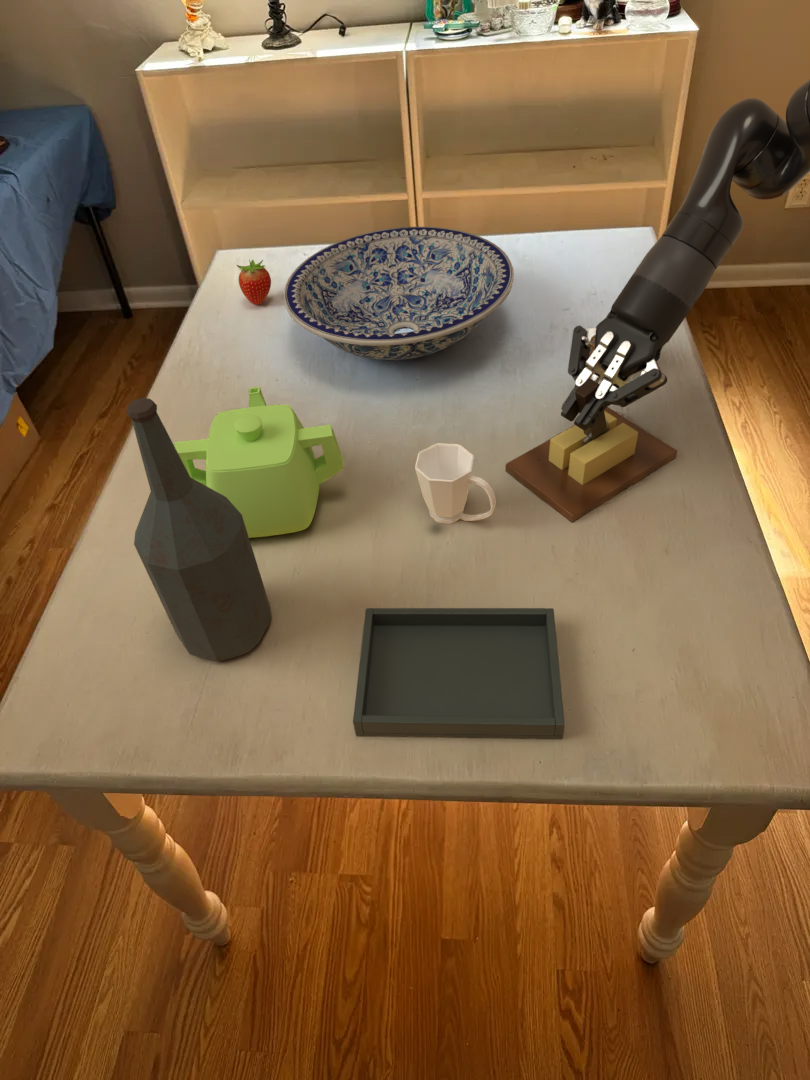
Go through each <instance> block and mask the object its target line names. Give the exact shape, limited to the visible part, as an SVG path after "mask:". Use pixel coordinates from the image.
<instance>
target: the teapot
mask: <svg viewBox="0 0 810 1080" xmlns="http://www.w3.org/2000/svg"><path fill="white" fill-rule="evenodd" d="M173 445H174V447H175V448H176V450H177V452H178V454H179V456H180V458H181V460H182V462H183V464H184V466H185V468H186V470H187V472H188V474H189V476H190V477H191V478H193V479H194V480H196V481H198V482H200V483H202V484H203V485H205V486H207V487H209V488H211V489H212V490H214V491H216V492H218V493H220V494H221V495H223V496H225V497H227V499H228V500H229V501H230V502H231V503H232V504H233V505H234V506H235V508H236V509H237V510H238V511H239V512H240V513H241V514H242V517H243V521H244V524H245V527H246V530H247V533H248V537H249V539H251V538H263V537H272V536H280V535H285V534H286V535H287V534H292V533H297V532H302V531H304V530H306V529H308V528H309V527H310V525H311V523H312V521H313V519H314V515H315V512H316V508H317V503H318V499H319V493H320V485H322V484H323V483H324V482H326V481H327V480H329V479H331V478H332V477H334V476H335V475H336V474H338V473H340V472H341V471H343V470H344V469H345V464H344V456H343V453H342V450H341V448H340V445H339V442H338V439H337V437H336V434H335V431H334V429H333V426H332V424H325V425H317V426H310V427H304V425H303V424H302V422H301V421H300V419H299V417H298V416H297V414H296V412H295V411H294V409H293V408H292V406H291V405H289V404H270V405H268V404H267V403H266V400H265V396H264V394H263V392H262V389H261V386H254V387H249V388H248V407H243V408H235V409H229V410H223V411H219V412H218V413H217V414H216V415H215V416H214V418H213V420H212V421H211V426H210V427H209V431H208V437H207V438H203V439H193V440H192V439H191V440H180V441H174V442H173ZM317 446H321V449H322V453H323V454H322V455H320V456H319V457H317V458H316V457H315V453H314V449H313V447H317ZM194 460H205V470H204V469H201V468H198V467H195V463H194Z"/></svg>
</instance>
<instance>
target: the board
mask: <svg viewBox="0 0 810 1080" xmlns="http://www.w3.org/2000/svg"><path fill="white" fill-rule="evenodd" d="M604 411H606V412H607V413H609V414H610V415H612V416H614V417H615V418H617V422H616V427H617V426H618V425H620V424H622V423H625V424H626V425H628V426H629V427H631V428H633V429H634V430H636V431H637V432H638V437H637V442H636V448H635V453H634V454H633V455H632V456H630V457H628V458H627V459H625V460H623V461H622V462H620V463H618V464H617V465H615V466H613V467H612V468H610V469H608V470H607V471H605V472H604V473H602V474H600V475H599V476H597V477H595V478H594V479H592V480H590V481H589V482H587V483H585V484H584V485H581V484H580V483H579V482H577V481H576V480H575V479H573V478H572V477H570V476H569V475H568V471H569V467H567V468H565V469H564V470H561V469H560V468H558V467H557V466H556V465H554V464H553V463H551V462H550V461H549V450H550V439H552V438H553V437H551V438H549V439H547V440H546V441H544V442H542V443H540V444H539V445H537V446H534V447H533V448H532V449H529V450H528V451H526V452H525V453H523V454H521V455H519V456H518V457H515V458H514V459H512V460H510V461H508V462H507V463H506V464H505V470H504V471H505V472H506V473H508V474H509V475H510V476H511V477H513V478H514V479H515V480H517V482H519V483H520V484H522V485H523V486H524V487H526V488H527V489H528V490H529V491H531V492H532V493H533V494H535V495H536V496H537V497H538V498H540V499H541V500H542V501H544V503H546V504H547V505H548V506H550V507H551V508H552V509H554V510H555V511H556V512H558V513H559V514H561V516H563V517H564V518H565V519H567V520H568V521H570V522H571V523H574V522H575V521H577V520H579V519H580V518H582V517H583V516H585V515H586V514H588V513H589V512H591V511H593V510H595V509H596V508H598V507H599V506H601V505H602V504H604V503H606V502H608V501H609V500H610V499H612V498H614V497H615V496H617V495H618V494H620V493H622V492H624V491H625V490H627V489H628V488H630V487H631V486H633V485H634V484H636V483H637V482H640V481H641V480H642V479H644V478H646V477H648V476H649V475H651V474H652V473H654V472H655V471H657V470H659V469H660V468H661V467H664V466H665V465H666V464H668V463H670V462H672V461H673V460H675V459H676V458H677V455H678V450H677V449H676V448H674V447H672V446H671V445H669V444H668V443H666V442H664V441H663V440H662V439H659V438H658V437H657V436H655V435H653V434H652V433H650V432H649V431H647V430H645V429H644V428H643V427H641V426H639V425H638V424H636V423H634V422H633V421H631V420H629V419H628V418H627V417H625V416H623V415H621V414H620V413H619V412H617V411H615V410H614V409H612V408H610V407H609V406H608V407H606V409H605V410H604ZM573 426H575V424H574V425H572V426H571V427H573ZM568 429H569V428H567V429H565V430H564V431H566V430H568ZM564 431H562V432H564ZM562 432H560V433H559V434H561V433H562ZM559 434H556V435H555V436H557V435H559Z"/></svg>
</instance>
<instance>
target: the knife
mask: <svg viewBox="0 0 810 1080" xmlns="http://www.w3.org/2000/svg"><path fill="white" fill-rule="evenodd" d="M599 386H600V383H597V382H595V381H594V380H592V379H590V378H589V379H588V380H586V381H585V382H584V383H583V384H582V385H581V386H580V387H578V388H577V389H576V390H575V395H576V400H577V404H578V409H579V414H580V413H581V411H582V410H583V408H584V407H585V405H586V404H587V403H588V401H589V400H590V398H591V397H594V398H595V392H596V391H597V389H598V387H599ZM583 431H584V434H585V435H587V437H586V438H585V439H584V440H583V444H584V445H586V444H587V443H589V442H591V441H593V440H594V439H596V438H598V437H599V436H601V435H603V434H605V433H606V432H608V431H610V427H609V422H608V421H607V420H606V419H605V413H604V412H603V413H602V415H601V416H600V418H599V419H598V420H597V422H596V423H595V425H594V426H593V427H591V428H589V427H588V429H587V430H583Z"/></svg>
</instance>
